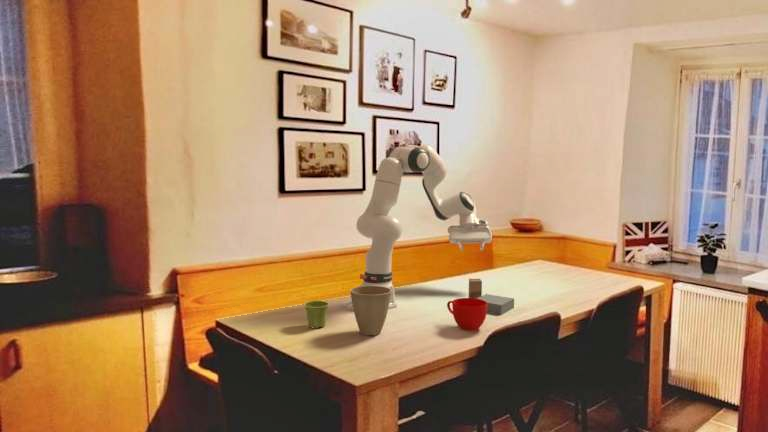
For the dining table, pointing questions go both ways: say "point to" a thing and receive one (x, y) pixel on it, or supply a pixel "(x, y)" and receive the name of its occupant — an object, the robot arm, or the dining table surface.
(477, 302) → the ceramic cup
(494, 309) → the charcoal plinth
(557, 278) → the dining table surface
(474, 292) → the walnut post
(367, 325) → the plant pot
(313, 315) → the plant pot
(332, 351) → the dining table surface
